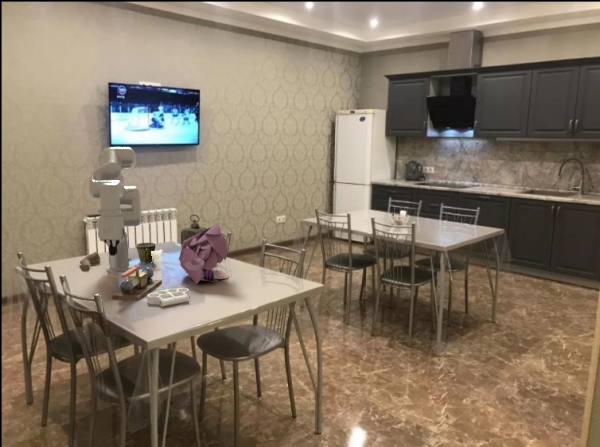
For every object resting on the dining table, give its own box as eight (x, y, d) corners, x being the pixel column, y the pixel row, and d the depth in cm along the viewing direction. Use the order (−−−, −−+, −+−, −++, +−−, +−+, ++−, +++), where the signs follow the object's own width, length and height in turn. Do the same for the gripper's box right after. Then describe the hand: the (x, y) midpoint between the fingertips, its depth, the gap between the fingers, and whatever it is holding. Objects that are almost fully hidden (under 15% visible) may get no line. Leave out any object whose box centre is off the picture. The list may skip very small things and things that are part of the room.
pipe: (80, 262, 247) (101, 257, 252) (77, 254, 262) (97, 250, 266) (83, 274, 249) (103, 269, 253) (80, 266, 264) (100, 261, 268)
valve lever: (119, 278, 205) (119, 274, 204) (135, 268, 220) (135, 264, 220) (126, 278, 204) (125, 275, 204) (141, 268, 220) (141, 265, 219)
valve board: (137, 281, 233) (137, 278, 232) (161, 283, 231) (161, 280, 231) (111, 298, 209) (111, 295, 209) (138, 300, 208) (138, 296, 207)
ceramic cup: (135, 261, 269) (135, 243, 267) (154, 259, 273) (154, 241, 271) (138, 267, 257) (138, 248, 255) (158, 265, 261) (157, 247, 260)
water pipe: (142, 279, 231) (141, 262, 229) (154, 280, 230) (154, 263, 229) (119, 294, 210) (118, 276, 208) (132, 295, 209) (131, 276, 207)
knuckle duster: (155, 310, 198) (143, 299, 209) (196, 301, 208) (183, 292, 220) (154, 302, 197) (142, 292, 209) (196, 294, 207) (183, 285, 219)
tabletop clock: (210, 258, 276) (209, 215, 271) (199, 262, 268) (197, 217, 264) (191, 255, 283) (190, 212, 279) (180, 258, 276) (178, 214, 271)
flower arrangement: (241, 291, 237) (254, 235, 233) (197, 291, 221) (210, 231, 217) (206, 268, 263) (217, 217, 259) (165, 266, 247) (176, 212, 243)
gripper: (89, 213, 203) (92, 256, 207) (123, 215, 201) (126, 258, 205) (98, 210, 210) (100, 251, 214) (131, 211, 209) (134, 253, 213)
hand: (113, 254), depth 210 cm, fingers closed
